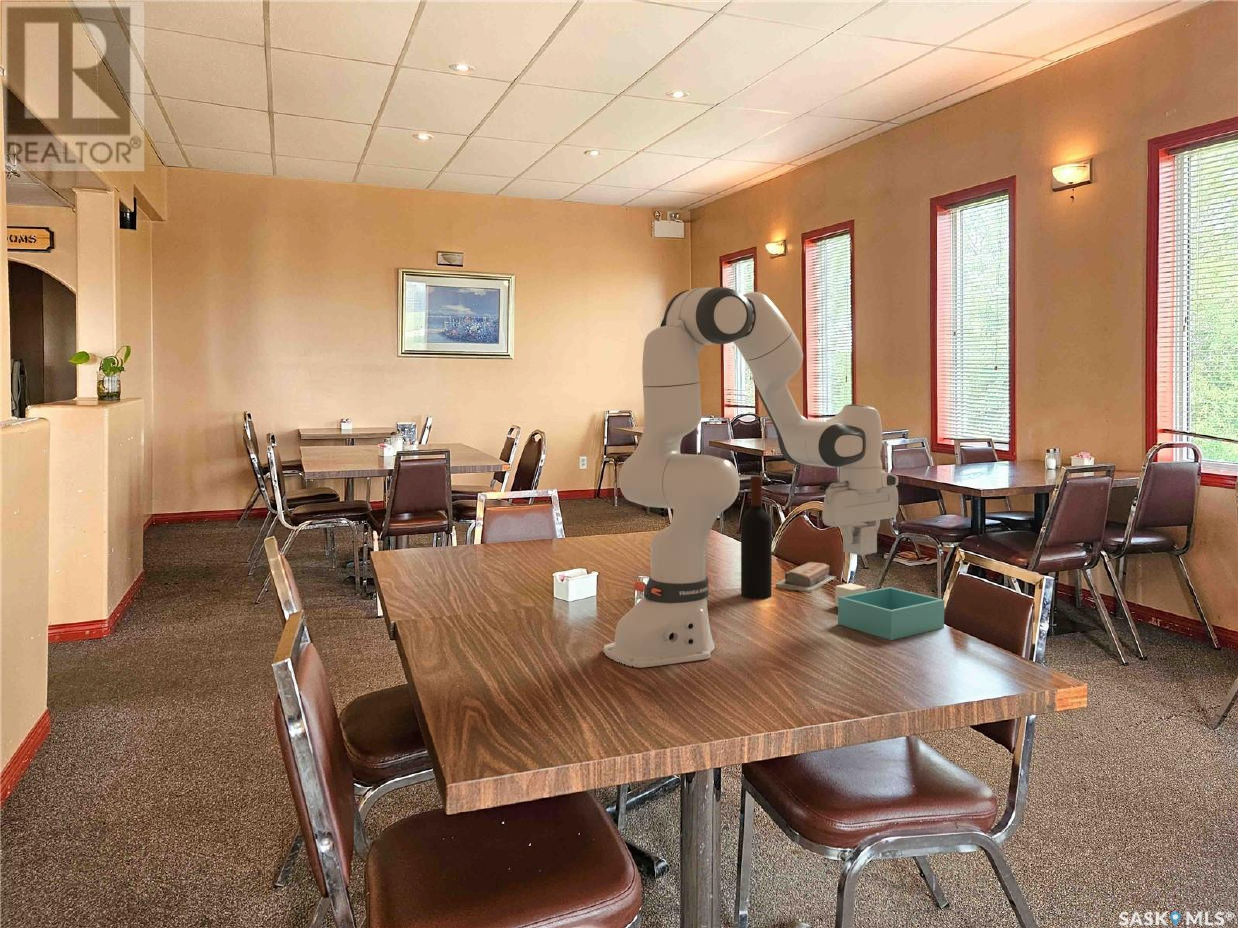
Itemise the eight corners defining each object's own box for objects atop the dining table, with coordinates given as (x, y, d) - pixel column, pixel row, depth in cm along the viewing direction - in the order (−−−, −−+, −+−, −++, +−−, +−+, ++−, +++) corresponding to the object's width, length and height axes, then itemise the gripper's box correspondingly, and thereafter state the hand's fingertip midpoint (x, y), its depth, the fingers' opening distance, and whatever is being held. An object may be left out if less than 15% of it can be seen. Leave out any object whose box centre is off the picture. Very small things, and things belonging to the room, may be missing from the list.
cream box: (851, 611, 194) (851, 589, 194) (835, 606, 199) (835, 585, 198) (866, 608, 197) (866, 587, 197) (850, 603, 201) (850, 583, 201)
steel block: (860, 555, 179) (861, 527, 179) (843, 551, 184) (843, 524, 183) (876, 552, 182) (877, 525, 181) (859, 548, 186) (859, 522, 186)
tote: (891, 640, 171) (891, 611, 171) (837, 623, 183) (838, 597, 183) (943, 627, 180) (944, 599, 179) (889, 612, 192) (890, 587, 192)
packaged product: (802, 559, 232) (836, 563, 227) (801, 576, 233) (836, 580, 227) (775, 571, 218) (811, 575, 212) (775, 589, 218) (811, 594, 212)
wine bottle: (737, 597, 208) (737, 477, 205) (745, 591, 215) (744, 474, 212) (768, 600, 205) (768, 478, 202) (774, 593, 212) (774, 475, 209)
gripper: (837, 485, 173) (837, 550, 174) (903, 476, 184) (903, 538, 185) (815, 482, 178) (815, 546, 180) (880, 474, 189) (880, 534, 191)
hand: (860, 542), depth 183 cm, fingers closed on steel block, 5 cm apart
